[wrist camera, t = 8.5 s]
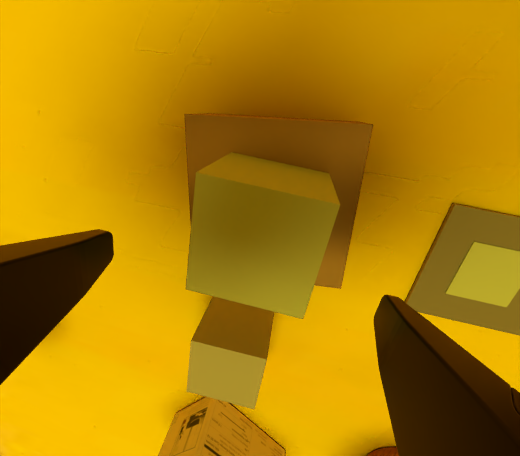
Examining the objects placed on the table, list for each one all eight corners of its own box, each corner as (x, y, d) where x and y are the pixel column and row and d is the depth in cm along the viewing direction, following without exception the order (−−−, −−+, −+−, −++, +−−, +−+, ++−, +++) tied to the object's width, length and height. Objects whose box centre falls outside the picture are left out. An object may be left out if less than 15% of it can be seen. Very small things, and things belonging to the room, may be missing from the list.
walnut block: (209, 113, 17) (184, 114, 14) (357, 121, 16) (373, 124, 13) (212, 242, 21) (193, 270, 17) (334, 255, 20) (340, 288, 16)
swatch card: (452, 202, 17) (455, 205, 16) (591, 231, 16) (598, 233, 16) (402, 305, 20) (404, 309, 20) (517, 332, 20) (521, 336, 19)
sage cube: (231, 152, 14) (195, 172, 9) (329, 173, 14) (340, 204, 9) (219, 238, 16) (185, 289, 12) (304, 258, 16) (303, 319, 11)
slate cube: (214, 293, 22) (191, 340, 18) (274, 308, 22) (266, 359, 17) (208, 339, 24) (186, 391, 20) (264, 352, 24) (254, 409, 20)
